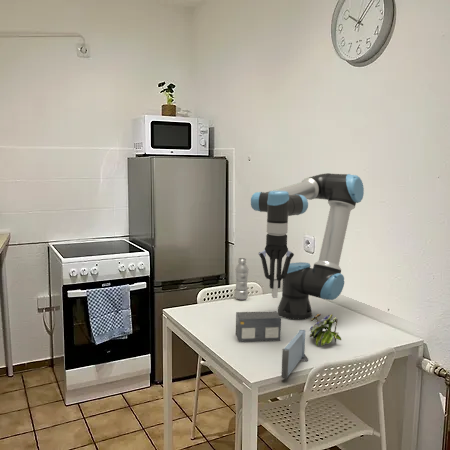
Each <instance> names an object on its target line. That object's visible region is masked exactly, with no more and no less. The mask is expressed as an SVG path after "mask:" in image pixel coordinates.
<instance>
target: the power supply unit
mask: <svg viewBox="0 0 450 450" xmlns="http://www.w3.org/2000/svg"><path fill="white" fill-rule="evenodd" d="M277 312H278V311H275V310H273V311H270V310H269V311H236V312H235V336H236V339H237V341H238V343H250V342H251V343H253V342H254V343H255V342H280V341H281V337H282V336H281V334H282V332H281V329H282V317H281V316H279V314H278V313H277Z"/></svg>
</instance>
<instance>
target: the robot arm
mask: <svg viewBox="0 0 450 450" xmlns="http://www.w3.org/2000/svg"><path fill="white" fill-rule="evenodd" d="M364 189H365V188H364V183H363V180H362V179H361V177H360V176H358V175H356V174H351V173H348V174H347V173H320V174H316V175H313V176H309V177H306V178H304V179H302V180H301V182H297V183H294V184H291V185H288V186H283V187H281V188H278V189H273V190H269V191H266V192H264V191H259V192H258V191H256V192H254V193H253V194H252V195H251V197H250V207H251V208H252V209H253V210H254V211H255V212H260V213H267V216H266V217H267V218H266V233H267V234H266V236H265V237H266V238H265V239H266V240H265V247H264V249H263V251H259V252H258V255H259V257H260V260H261V263H262V269H263V274H264V277H265V278H266V280H267V279H268V280H269V288H270V289H271V297H272V298H274V299H277V298H278V291H279V289H281V285H282V289H281V290H282V291H281V295H282V296H281V299H280V301H279V303H278V306H277V311H276V312H277V313H278V314H279V316H280V317H281V318H283V319H287V320H295V321H296V320H297V321H298V320H299V321H300V320H308V319H310V318H311V317H312V314H313V309H312V306H311V303H310V298H309V296H311V297H314V298H320V299H323V300H328V301H330V300H331V301H333V300H335V299H337V298H338V297H339V296H340V295H341V294H342V292H343V289H344V285H345V276H344V275H343V274H342V269H341V266H340V260H341V256H342V252H343V247H344V243H345V242H344V241H345V239H346V233H347V229H348V225H349V220H350V215H351V211H352V210H354V209H355V208H356V205H357V204H358V203H360V202H362V200H363V198H364V194H365V193H364V192H365V190H364ZM314 199H315V200H325V201H327V204H329V207H330V208H329V212H328V216H327V221H326V226H325V231H324V235H323V239H322V243H321V248H320V253H319V257H318V260H317V261H316V262H314V263H313V267H312V266H311V264H310V263H309V262H301V261H300V262H291V260H292V259H293V257H294V256H295V254H294V253H293V252H292V251H290V250H289V247H288V231H289V230H288V228H289V227H288V224H289V223H288V221H289V216H290V217H291V216H299V215H302V214H305V213H306V212H307V211H308V208H309V202H308V200H309V201H310V200H314ZM266 254H267V255H266ZM266 256H268V257H269V268H268V264H267V259H266ZM285 256H286V257H285ZM284 257H285V259H284V260H285V261H284V263H283V258H284ZM275 263H276V264H275ZM275 265H276V266H275ZM282 265H283V267H282ZM275 267H276V269H275ZM275 270H276V278H275ZM281 281H282V284H281Z"/></svg>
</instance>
